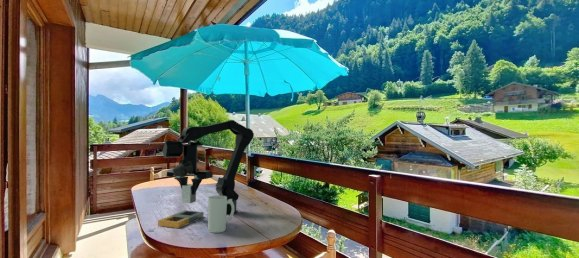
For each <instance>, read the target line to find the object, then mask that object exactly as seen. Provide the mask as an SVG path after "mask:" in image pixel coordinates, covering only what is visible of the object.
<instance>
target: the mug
mask: <svg viewBox="0 0 579 258" xmlns="http://www.w3.org/2000/svg"><path fill="white" fill-rule="evenodd" d="M207 199H208V200H207V231H208V232H210V233H214V234H215V233H216V234H218V233H223V232H225V231H226V227H227V226H226V225H227V222H231V221H232V219H233V216H234V214H235V213H234V204H233V201H232V199H229V200H227V197H226V196H220V195H211V196H208V198H207ZM227 204H230V205H231V207H232V210H231V214H229V216H227V214H226V210H227Z"/></svg>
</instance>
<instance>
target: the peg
mask: <svg viewBox="0 0 579 258" xmlns="http://www.w3.org/2000/svg"><path fill="white" fill-rule="evenodd" d="M192 185H193V183H192V184H190V183H187V184H186V185H182V189H181V203H182V204H192V203H195V202H196V200H197V192H196V193H195V195H192Z"/></svg>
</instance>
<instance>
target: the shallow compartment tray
mask: <svg viewBox="0 0 579 258" xmlns="http://www.w3.org/2000/svg"><path fill="white" fill-rule="evenodd" d="M204 216H205V215H204V211H195V210H186V209H185V210H183V211H180V212H177V213H174V214H172V215H169V216H167V217H164V218H161V219H158V220H157V226H158V227H165V228H172V227H173V228H175V229H181V228H182V227H185V226H186V225H189V224H192V223H194V222H195V221H198V220H200V219H202V218H204Z"/></svg>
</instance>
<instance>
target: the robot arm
mask: <svg viewBox="0 0 579 258" xmlns="http://www.w3.org/2000/svg"><path fill="white" fill-rule="evenodd" d="M227 130H229V131H230V132H231V133H232V134H233V135H235V141H234V142H235V146H234V149H233V152H232V154H231V157H230V159H229V162H228V164H227V168H226V170H225V173H224V175H223V176H222V177H221V176H219V177H218V178H217V182H216V184H215V192H216V193H217V194H218V196H226V197H227V200H229V199H232V201H233V204H234V214H235V213H238V212H239V210H238V209H237V203H238V202H237V201H238V200H239V197H240V195H239V194H238V193H237V192H236V191H235V189H236V188H235V186H236V175H237V173H238V170H239V167H240V164H241V161H242V158H243V157H244V153H245V151H246V149H247V147H249V145H250V143H251V142H252V140H253V138H254V136H255V133H254V130H252V128H249V127H246V126H244V125H243V124H241V123H239V122H237V121H236V120H235V119H228V120H225V121H222V122H217V123H216V122H215V123H213V124H208V125H205V126H204V125H203V126H187V127H184V128H183V129H182V131H181V134H180V136H179V138H177V140H165V141H164V144H163V147H162V148H163V149H162V153H163V154H162V156H163V157H164V158H180V156H182V159H180V163H179V164H177V165H175V166H174V167H173V168H169V169H168V170H167V171H166V177H169V178H172V177H173V178H174V180H176V181H178V183H179V185H180V188H181V190H182V185H186V184H188V183H189V182H188V181H189V177H193V178H191V179H190V180H191V182H192V184H193V185H192V195H195V193H196V194H197V190H198V189H199V187H200V185H201V183H202V182H203V180H207V179H211V178H213V177H214V173H213V172H212V170H199V168H198V162H199V160H200V159H199V158H198V148H199V147H203V146H204V145H203V143H201V142H200V140H199V139H202V138H203V137H206V136H208V135H210V134H216V133H219V132H224V131H227ZM231 210H232V207H231V205H230V204H227V210H226V215H230V214H231Z"/></svg>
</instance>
